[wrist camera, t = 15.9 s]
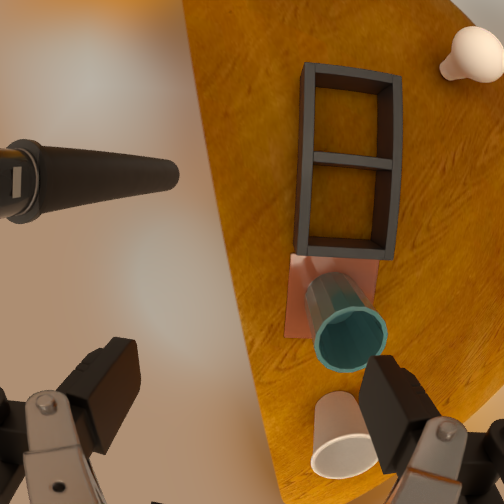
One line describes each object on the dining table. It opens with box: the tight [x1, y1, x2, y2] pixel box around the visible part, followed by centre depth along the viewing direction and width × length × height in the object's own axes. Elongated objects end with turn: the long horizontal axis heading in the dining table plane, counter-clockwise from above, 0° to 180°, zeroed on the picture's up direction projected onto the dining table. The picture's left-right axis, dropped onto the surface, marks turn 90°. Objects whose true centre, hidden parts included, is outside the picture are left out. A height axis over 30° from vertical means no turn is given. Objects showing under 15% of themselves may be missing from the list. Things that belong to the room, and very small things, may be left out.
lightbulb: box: [440, 26, 504, 83], centre depth 23 cm, size 6×6×11 cm
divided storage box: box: [293, 62, 403, 260], centre depth 30 cm, size 10×18×5 cm, turn 178°
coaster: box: [284, 253, 379, 338], centre depth 36 cm, size 10×10×1 cm
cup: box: [304, 272, 388, 373], centre depth 31 cm, size 6×6×10 cm
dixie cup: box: [311, 391, 378, 479], centre depth 34 cm, size 8×8×10 cm
